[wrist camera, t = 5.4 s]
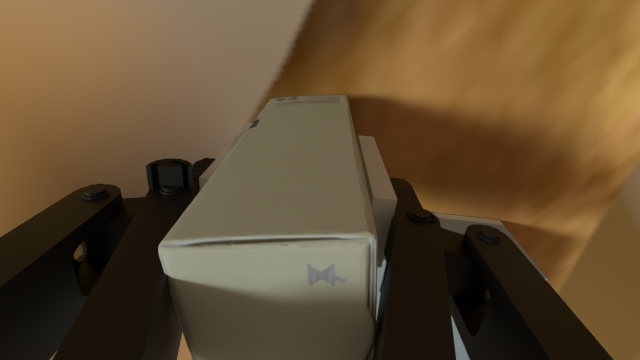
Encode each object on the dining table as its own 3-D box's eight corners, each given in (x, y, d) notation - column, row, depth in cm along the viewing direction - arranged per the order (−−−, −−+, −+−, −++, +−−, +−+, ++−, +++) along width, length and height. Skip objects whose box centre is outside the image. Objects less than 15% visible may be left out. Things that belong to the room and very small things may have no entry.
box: (269, 96, 17) (138, 228, 6) (350, 93, 17) (384, 225, 6) (278, 183, 20) (197, 406, 8) (350, 182, 19) (375, 409, 8)
